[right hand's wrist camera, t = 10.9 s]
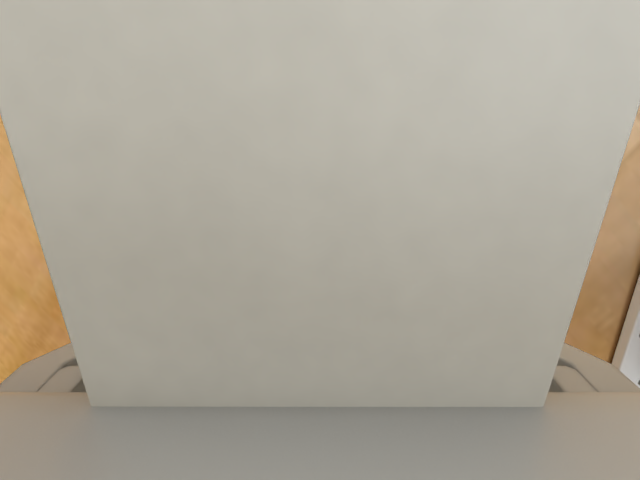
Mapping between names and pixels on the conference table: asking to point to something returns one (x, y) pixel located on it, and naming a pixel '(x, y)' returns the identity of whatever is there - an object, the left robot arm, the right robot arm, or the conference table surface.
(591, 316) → the conference table surface
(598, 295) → the conference table surface
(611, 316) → the conference table surface
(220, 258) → the box
